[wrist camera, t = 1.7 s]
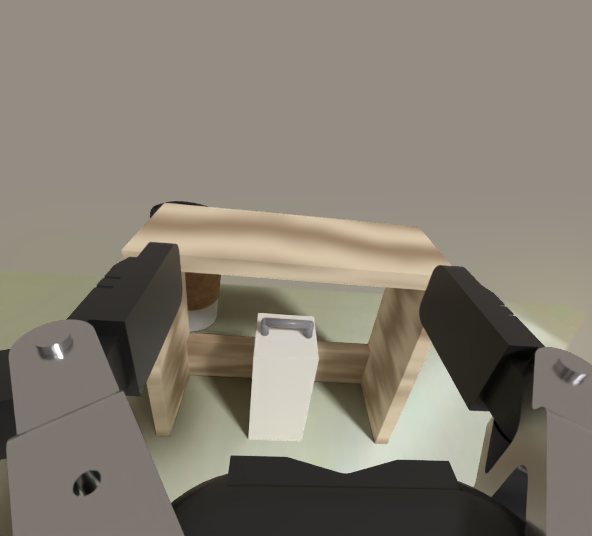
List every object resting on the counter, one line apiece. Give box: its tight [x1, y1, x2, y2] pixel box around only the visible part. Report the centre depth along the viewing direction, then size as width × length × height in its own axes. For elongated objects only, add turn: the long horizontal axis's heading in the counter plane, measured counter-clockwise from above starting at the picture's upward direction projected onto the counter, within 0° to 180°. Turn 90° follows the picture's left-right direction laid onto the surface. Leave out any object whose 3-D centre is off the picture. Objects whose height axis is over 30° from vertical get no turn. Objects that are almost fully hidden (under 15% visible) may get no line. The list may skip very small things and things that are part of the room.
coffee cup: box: [150, 201, 221, 331], centre depth 40 cm, size 8×8×15 cm
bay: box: [122, 203, 451, 444], centre depth 29 cm, size 8×22×19 cm, turn 92°
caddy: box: [248, 313, 319, 441], centre depth 29 cm, size 5×5×12 cm
